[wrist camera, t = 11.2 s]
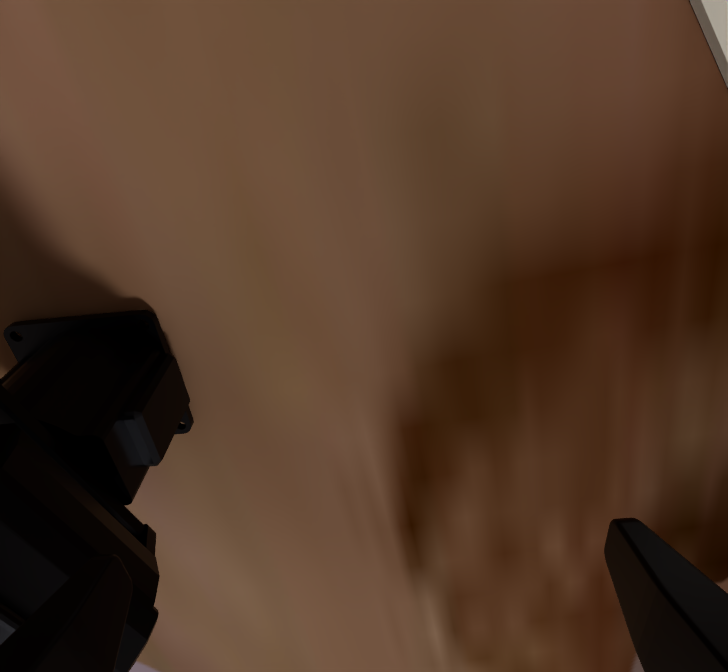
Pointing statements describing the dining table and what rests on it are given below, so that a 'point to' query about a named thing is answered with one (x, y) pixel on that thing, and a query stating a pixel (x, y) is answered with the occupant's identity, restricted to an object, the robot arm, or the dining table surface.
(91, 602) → the robot arm
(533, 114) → the dining table surface
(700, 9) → the tile
